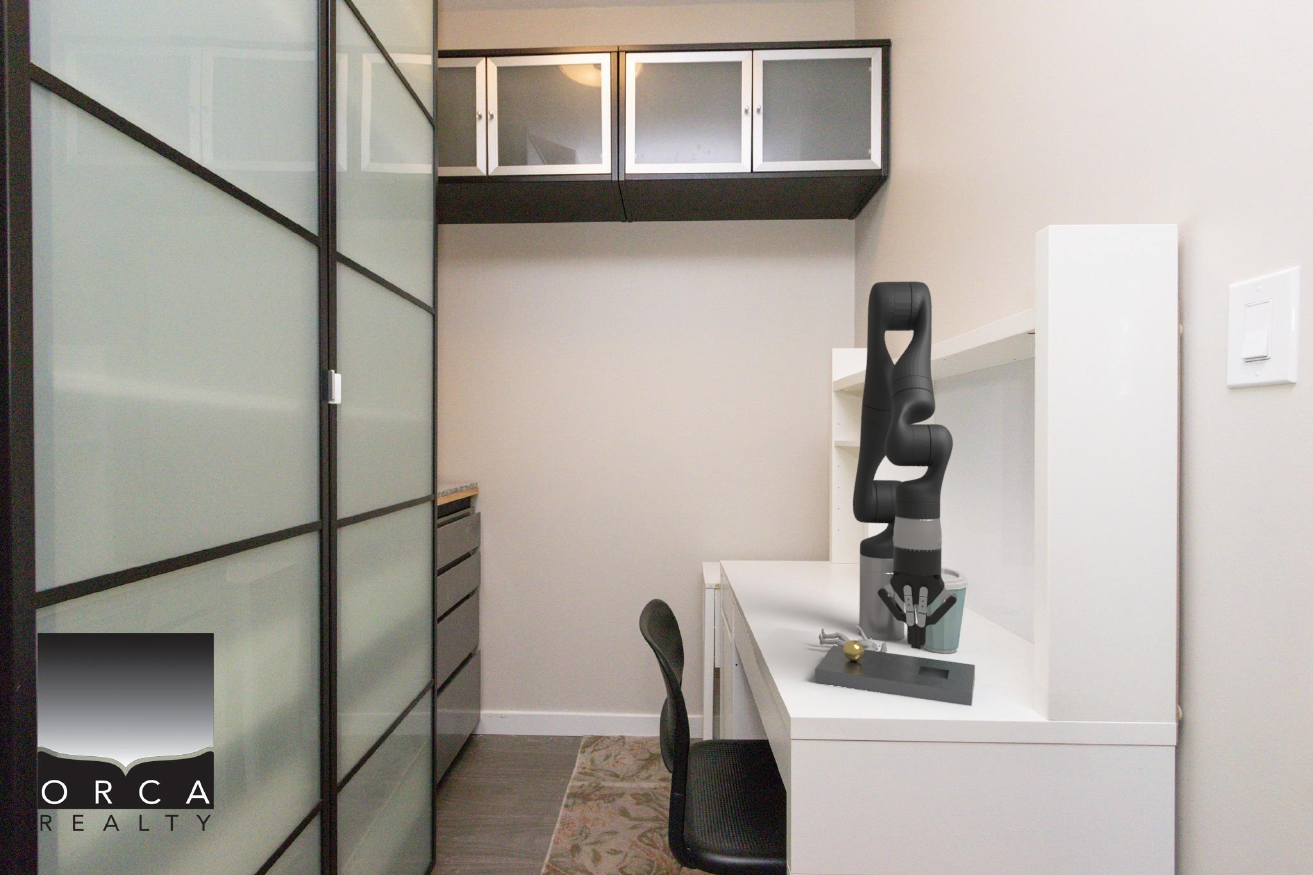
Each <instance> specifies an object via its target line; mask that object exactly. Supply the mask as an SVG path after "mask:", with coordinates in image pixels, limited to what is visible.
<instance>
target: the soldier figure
mask: <svg viewBox="0 0 1313 875" xmlns="http://www.w3.org/2000/svg"><path fill="white" fill-rule="evenodd" d="M856 629H857V630H858V632H859V631H860V632H861V633H859V635H860V636H861V638H860V639H854V640H855V641H858V642H860V643H861V644H862V646H863V648H864V650H871V651H878V652H885V653H888V648H887V644H886V642H885V641H884V640H883V643H882V644H878V645H877V644H876V643H875V642H874V641H873V640H871V639H869V638H867V637H866V636H865V634H864V632H863V631H862V629H861V628H860V627H859V624H858V625H856ZM818 639H819V645H821V646H822V645H832V646H833V645H835V646H842V647H844V645H845V644H846V643H847V642H848V641H850V640H851V639H850V638H849V637H848V636H846V635H845V634H844V633H842V632H837V631H836V632H835V633H828V634H826V632H825V629H824V628H822V629H821V631H820V633H819V635H818ZM879 648H880V650H879Z"/></svg>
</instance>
